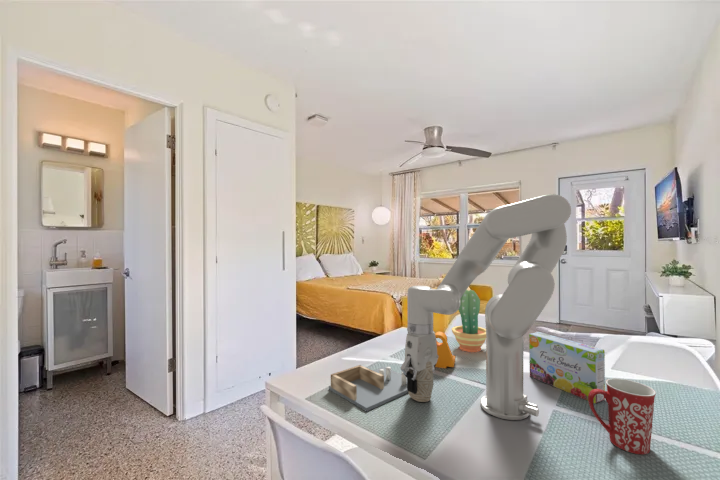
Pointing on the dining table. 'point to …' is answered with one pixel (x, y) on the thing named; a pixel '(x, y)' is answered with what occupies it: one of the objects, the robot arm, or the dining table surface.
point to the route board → (378, 389)
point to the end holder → (343, 379)
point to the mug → (627, 414)
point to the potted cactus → (469, 324)
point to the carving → (423, 384)
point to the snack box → (567, 365)
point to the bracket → (444, 352)
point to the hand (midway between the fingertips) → (420, 387)
